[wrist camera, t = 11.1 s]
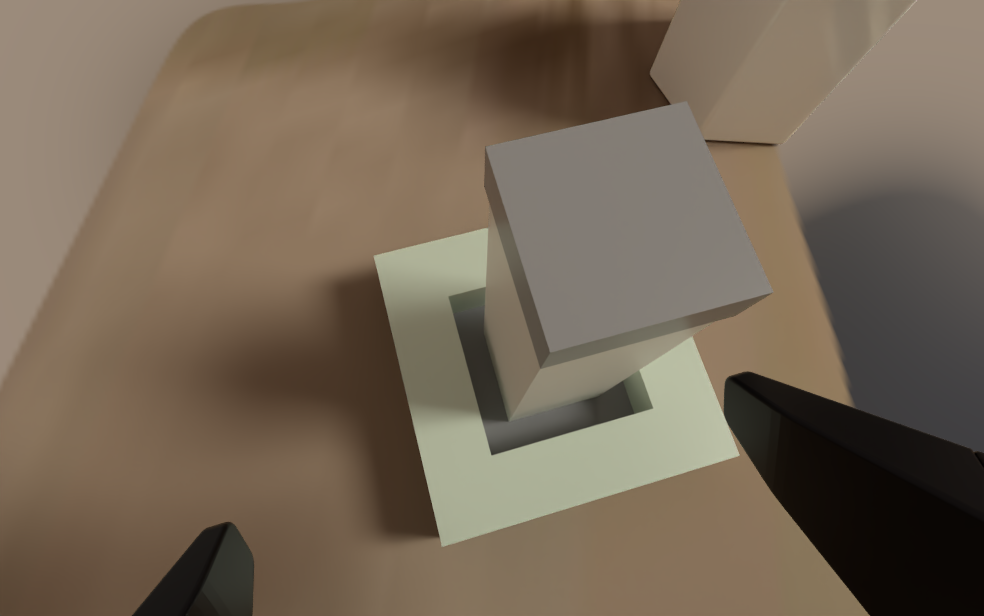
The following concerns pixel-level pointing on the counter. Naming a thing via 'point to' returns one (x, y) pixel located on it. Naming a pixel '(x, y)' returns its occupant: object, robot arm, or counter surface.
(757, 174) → the counter surface
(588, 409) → the socket
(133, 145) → the counter surface
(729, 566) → the counter surface
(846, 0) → the jar
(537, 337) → the plug
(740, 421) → the robot arm
